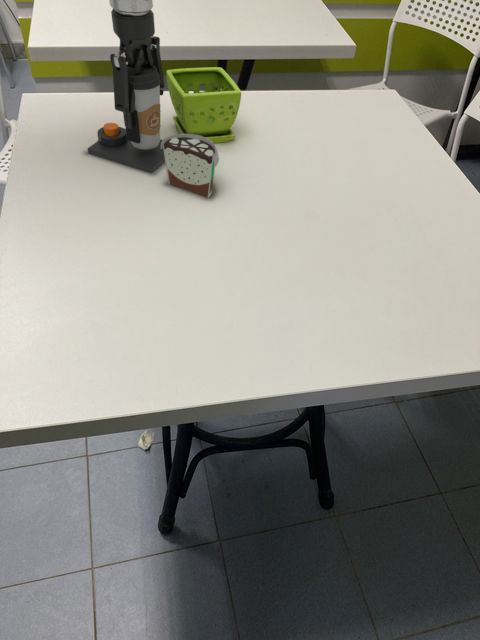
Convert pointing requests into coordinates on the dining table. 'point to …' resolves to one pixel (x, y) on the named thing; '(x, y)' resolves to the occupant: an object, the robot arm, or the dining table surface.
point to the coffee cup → (147, 106)
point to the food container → (190, 162)
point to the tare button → (111, 129)
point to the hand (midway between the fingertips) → (144, 133)
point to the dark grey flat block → (127, 151)
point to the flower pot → (204, 102)
